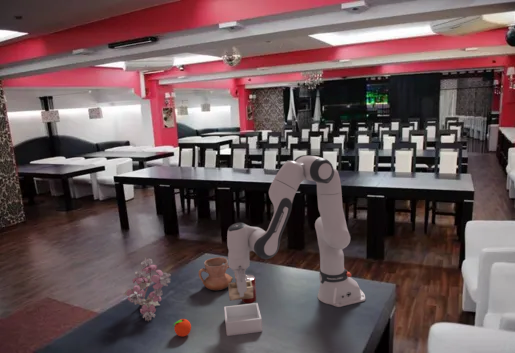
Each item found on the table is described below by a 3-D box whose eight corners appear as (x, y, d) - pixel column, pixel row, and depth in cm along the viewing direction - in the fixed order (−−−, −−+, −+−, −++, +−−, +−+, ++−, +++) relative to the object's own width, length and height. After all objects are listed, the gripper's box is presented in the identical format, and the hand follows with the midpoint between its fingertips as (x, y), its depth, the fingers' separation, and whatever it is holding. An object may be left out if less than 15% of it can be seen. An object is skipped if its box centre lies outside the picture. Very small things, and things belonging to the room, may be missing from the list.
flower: (107, 316, 179) (117, 276, 168) (137, 288, 199) (147, 251, 188) (143, 338, 175) (155, 299, 164) (170, 308, 195) (182, 271, 185)
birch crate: (251, 291, 170) (251, 280, 169) (253, 298, 164) (252, 287, 163) (228, 293, 169) (228, 283, 167) (229, 300, 163) (229, 289, 162)
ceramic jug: (233, 278, 213) (231, 254, 210) (235, 291, 199) (233, 265, 196) (200, 282, 211) (197, 258, 208) (200, 295, 197) (197, 269, 194)
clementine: (174, 342, 159) (172, 327, 158) (171, 333, 166) (169, 318, 164) (193, 337, 162) (192, 321, 161) (189, 328, 169) (188, 313, 167)
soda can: (254, 304, 185) (253, 281, 182) (240, 303, 186) (238, 280, 184) (257, 297, 192) (256, 274, 189) (243, 296, 193) (242, 274, 191)
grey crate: (258, 314, 176) (257, 302, 175) (262, 331, 164) (261, 318, 162) (225, 318, 174) (224, 306, 173) (226, 336, 162) (225, 323, 161)
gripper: (249, 271, 153) (251, 303, 156) (244, 251, 173) (245, 280, 176) (233, 273, 153) (235, 305, 155) (229, 253, 172) (231, 281, 175)
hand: (240, 291), depth 166 cm, fingers closed on birch crate, 6 cm apart
